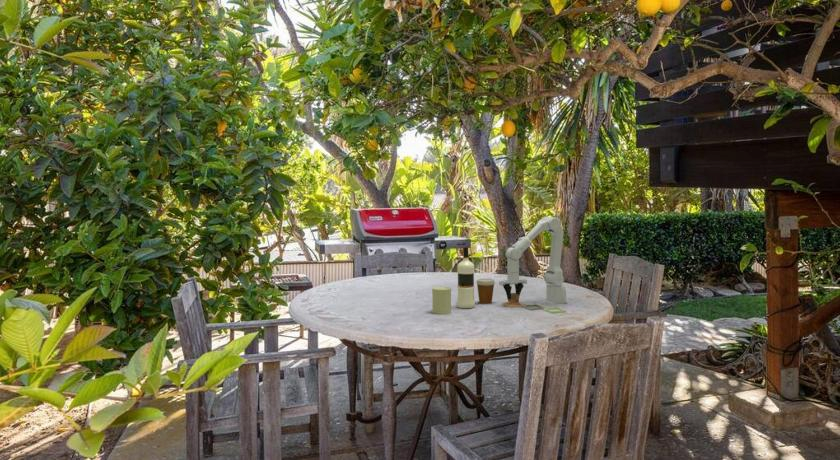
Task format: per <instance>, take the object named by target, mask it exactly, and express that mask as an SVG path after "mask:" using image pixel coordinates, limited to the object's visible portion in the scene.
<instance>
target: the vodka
mask: <svg viewBox="0 0 840 460" xmlns="http://www.w3.org/2000/svg"><path fill="white" fill-rule="evenodd" d="M462 250H463V251H462V260H461V261H460V262H459V263H458V264H457V266H456V269H457V272H456V273H457V298H456V307H458V308H459V309H462V310H463V309H467V310H468V309H473V308H475V307H476V300H475V265H474V263H473V262H472V261H470V260H469V247H468V246H463V247H462Z"/></svg>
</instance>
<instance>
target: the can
mask: <svg viewBox="0 0 840 460" xmlns="http://www.w3.org/2000/svg"><path fill="white" fill-rule="evenodd" d="M431 289H432V311H431V312H432V313H433V314H437V315H446V314H451V313H452V287H450V286H434V287H432V288H431Z"/></svg>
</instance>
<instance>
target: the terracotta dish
mask: <svg viewBox="0 0 840 460" xmlns="http://www.w3.org/2000/svg"><path fill="white" fill-rule="evenodd" d="M501 303H502V305H503V306H506V307H508V308H518V307H521V308H522V305H525V304H524V303H522V302H520V301H519V302H516V303H511V302H508V301H507V302H505V301H503V302H501Z"/></svg>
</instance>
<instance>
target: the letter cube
mask: <svg viewBox="0 0 840 460" xmlns="http://www.w3.org/2000/svg"><path fill="white" fill-rule="evenodd" d="M507 302H511V303H516V302H519V303H520V296H519V294H517V293H516V292H511V299H507Z"/></svg>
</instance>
